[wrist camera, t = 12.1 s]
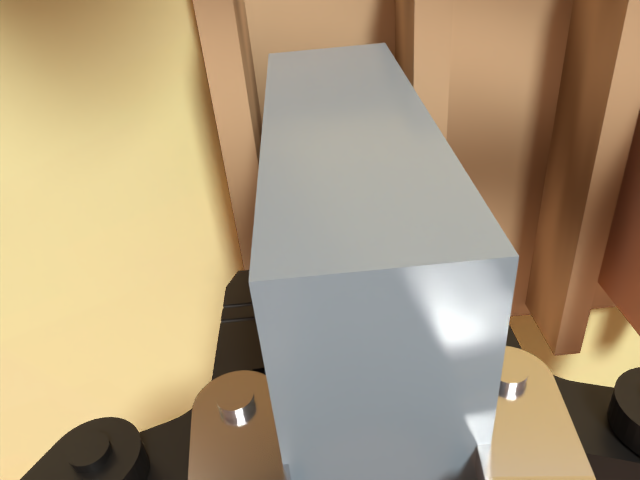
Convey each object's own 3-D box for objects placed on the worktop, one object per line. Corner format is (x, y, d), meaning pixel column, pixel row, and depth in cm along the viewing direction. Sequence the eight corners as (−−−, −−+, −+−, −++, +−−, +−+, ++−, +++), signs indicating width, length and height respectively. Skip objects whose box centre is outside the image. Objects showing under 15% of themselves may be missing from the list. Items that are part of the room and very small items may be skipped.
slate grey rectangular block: (268, 53, 12) (248, 282, 5) (385, 42, 12) (518, 256, 5) (303, 331, 16) (318, 649, 9) (388, 322, 16) (462, 635, 9)
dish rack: (183, -87, 13) (153, -80, 10) (812, -147, 13) (962, -157, 10) (258, 320, 20) (253, 394, 17) (669, 282, 20) (733, 350, 17)
